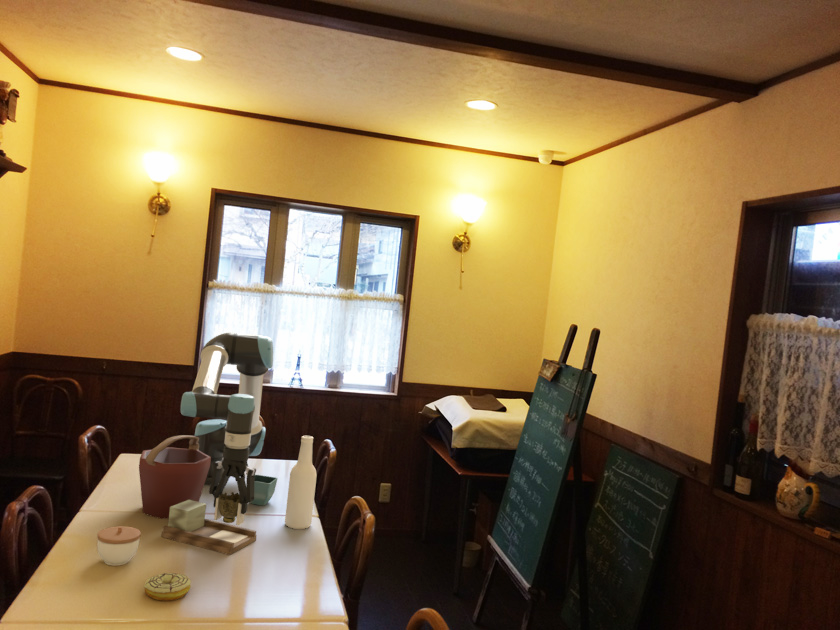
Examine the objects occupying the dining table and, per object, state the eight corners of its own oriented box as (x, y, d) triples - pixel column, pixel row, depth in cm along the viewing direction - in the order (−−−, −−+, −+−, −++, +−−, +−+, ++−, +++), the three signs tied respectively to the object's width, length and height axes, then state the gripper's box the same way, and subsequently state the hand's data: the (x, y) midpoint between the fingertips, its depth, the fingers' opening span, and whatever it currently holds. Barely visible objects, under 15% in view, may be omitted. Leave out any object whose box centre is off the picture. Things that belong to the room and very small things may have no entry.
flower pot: (275, 501, 247) (278, 477, 247) (267, 508, 238) (270, 483, 238) (252, 498, 248) (255, 474, 248) (243, 505, 239) (246, 480, 239)
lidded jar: (90, 556, 183) (94, 522, 182) (132, 551, 189) (135, 518, 189) (99, 572, 174) (103, 536, 174) (142, 565, 181) (146, 531, 180)
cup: (218, 526, 198) (221, 499, 198) (213, 518, 204) (216, 492, 204) (243, 525, 201) (246, 498, 201) (238, 517, 208) (241, 491, 208)
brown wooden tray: (161, 536, 202) (164, 509, 202) (191, 523, 215) (193, 497, 215) (229, 554, 194) (233, 525, 194) (256, 540, 208) (259, 513, 207)
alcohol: (314, 528, 223) (324, 439, 223) (289, 530, 219) (299, 439, 218) (305, 519, 231) (314, 433, 230) (280, 521, 226) (290, 433, 226)
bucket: (181, 495, 242) (188, 427, 241) (221, 512, 229) (229, 439, 229) (118, 508, 221) (126, 433, 221) (158, 527, 209) (166, 448, 208)
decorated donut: (163, 581, 174) (165, 566, 174) (198, 590, 170) (199, 576, 170) (134, 596, 164) (136, 580, 164) (171, 606, 160) (172, 591, 160)
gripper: (201, 442, 202) (193, 517, 202) (259, 453, 196) (250, 531, 196) (216, 438, 209) (208, 511, 209) (272, 449, 203) (264, 524, 203)
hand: (228, 521), depth 203 cm, fingers closed on cup, 7 cm apart
